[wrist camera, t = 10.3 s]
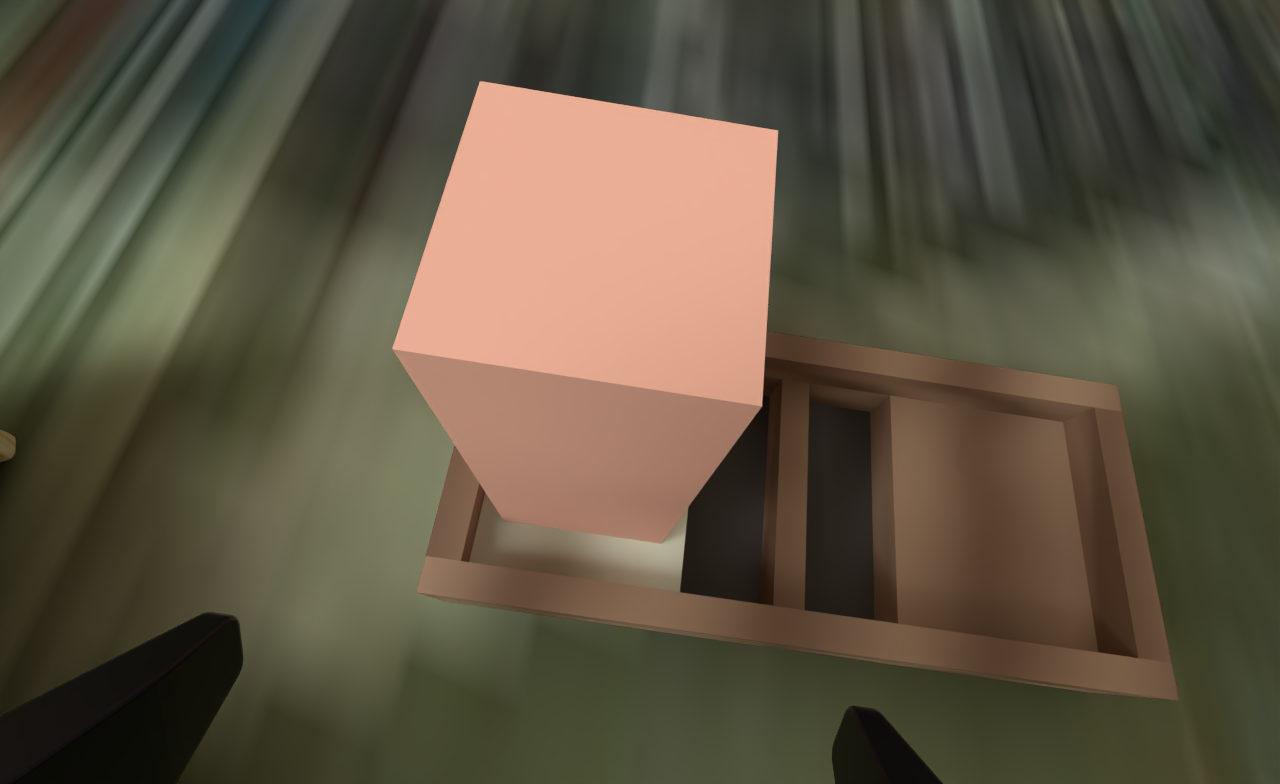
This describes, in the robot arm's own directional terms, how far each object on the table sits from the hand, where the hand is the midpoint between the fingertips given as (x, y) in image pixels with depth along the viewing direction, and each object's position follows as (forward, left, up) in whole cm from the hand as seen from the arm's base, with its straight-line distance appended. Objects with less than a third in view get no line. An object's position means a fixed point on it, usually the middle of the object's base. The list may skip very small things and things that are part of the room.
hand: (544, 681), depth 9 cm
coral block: (+4, +5, -9) cm, 11 cm away
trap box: (+9, +1, -12) cm, 15 cm away
